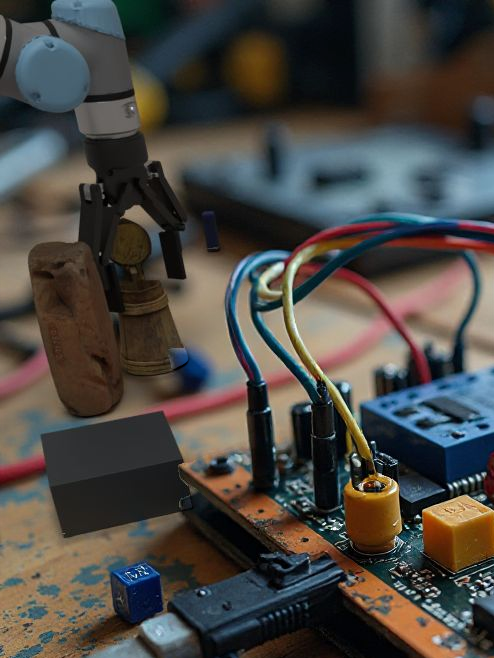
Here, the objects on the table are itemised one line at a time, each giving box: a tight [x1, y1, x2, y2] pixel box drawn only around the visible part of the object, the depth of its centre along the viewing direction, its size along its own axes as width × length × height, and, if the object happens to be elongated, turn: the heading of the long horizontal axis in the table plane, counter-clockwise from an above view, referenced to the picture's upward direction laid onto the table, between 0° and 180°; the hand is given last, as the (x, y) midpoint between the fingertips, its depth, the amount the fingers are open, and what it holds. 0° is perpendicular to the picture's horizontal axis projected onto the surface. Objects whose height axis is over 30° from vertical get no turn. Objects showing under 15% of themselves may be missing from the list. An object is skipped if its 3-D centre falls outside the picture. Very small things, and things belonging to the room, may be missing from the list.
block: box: [27, 240, 124, 417], centre depth 132 cm, size 11×8×20 cm
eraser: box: [201, 210, 221, 253], centre depth 191 cm, size 2×2×7 cm
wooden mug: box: [109, 217, 186, 376], centre depth 145 cm, size 9×14×18 cm, turn 22°
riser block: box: [39, 410, 192, 539], centre depth 114 cm, size 13×13×6 cm
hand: (147, 294), depth 146 cm, fingers open, 13 cm apart
